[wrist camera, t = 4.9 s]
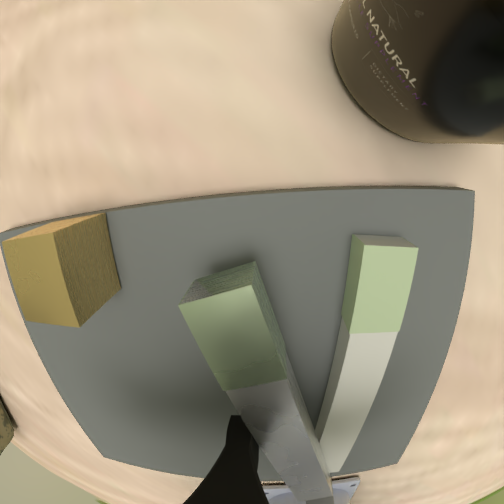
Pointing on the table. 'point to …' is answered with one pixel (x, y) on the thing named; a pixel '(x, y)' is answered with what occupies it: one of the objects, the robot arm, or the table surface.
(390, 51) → the supplement bottle
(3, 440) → the lunch bag
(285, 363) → the bar
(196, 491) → the robot arm
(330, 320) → the base
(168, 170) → the table surface
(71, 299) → the yellow wooden cube
